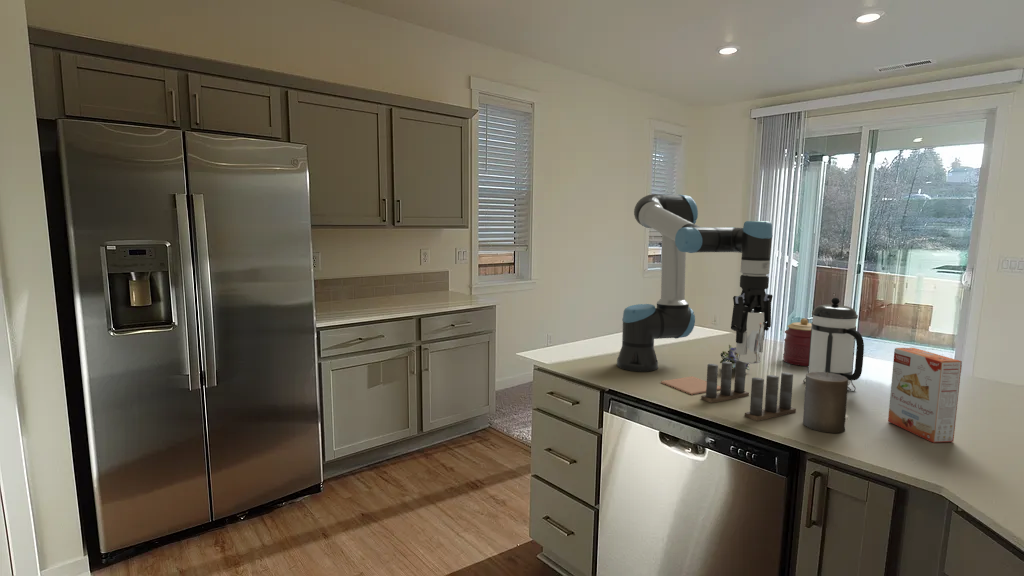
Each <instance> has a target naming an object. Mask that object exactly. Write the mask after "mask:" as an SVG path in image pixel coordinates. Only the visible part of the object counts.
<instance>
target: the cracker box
mask: <svg viewBox="0 0 1024 576" xmlns="http://www.w3.org/2000/svg"><path fill="white" fill-rule="evenodd" d="M962 365H963V361H962V360H958V359H955V358H952V357H947V356H945V355H941V354H937V353H934V352H930V351H926V350H923V349H919V348H916V347H897V348H896V347H894V353H893V362H892V374H891V384H890V394H889V395H890V396H889V408H888V418H887V420H888V421H887V422H888V423H891V424H893V425H895V426H897V427H899V428H901V429H902V430H903V429H904V430H905V431H908V432H910V433H912V434H913V435H916V436H918V437H920V438H922V439H925V440H926V441H929V442H931V443H951V442H952V443H954V439H955V431H956V421H957V412H958V404H959V403H958V401H959V392H960V383H961V376H962V375H961V373H962Z"/></svg>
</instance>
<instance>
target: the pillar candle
mask: <svg viewBox="0 0 1024 576" xmlns="http://www.w3.org/2000/svg"><path fill="white" fill-rule="evenodd" d="M805 378H806V379H805V383H804V384H805V385H804V387H805V388H804V399H803V415H802V418H803V419H802V423H803V425H804V427H806V426H807V427H806V428H808V427H809V428H808V429H811V430H813V429H814V431H817V432H818V431H819V432H823V433H831V434H839V433H840V432H841V433H843V432H845V431H846V416H847V415H846V414H847V401H848V390H849V389H848V387H849V385H848V378H846V377H844V376H842V375H838V374H833V373H828V372H827V373H826V372H810V373H808V372H806V373H805ZM841 433H840V434H841Z"/></svg>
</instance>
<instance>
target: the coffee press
mask: <svg viewBox="0 0 1024 576" xmlns="http://www.w3.org/2000/svg"><path fill="white" fill-rule="evenodd" d="M830 301H831V303H832V304H819V305H817V306H816V307H815V308H814V309H813V310H812V311H811V315H812V322H811V324H812V325H811V338H810V352H809V365H808V366H807V367H808V368H807V373H810V372H826V373H827V372H828V373H833V374H838V375H842V376H844V377H846V378H848V389H847V390H849V391H850V390H852V388H851V387H850V386H849V385H852V387H853V388H854V389H853V390H854V391H853V392H855V391H856V386H855V385H854V383H853V381H857V380H858V379H859V378H860V377H861V376H862V372H863V365H864V355H865V354H864V353H865V352H864V351H865V343H864V338H863V335H862V334H861V333H860V332H859V331H857V320H858V317H859V315H858V314H857V311H856V310H855V309H854V308H852V307H850V306H846V305H841V304H839V303H840V302H841V301H840V298H838V297H833V298H831V300H830ZM855 347H856V349H855ZM855 350H856V353H855ZM854 359H855V360H854ZM854 361H855V363H854ZM802 382H803V384H805V382H806V377H805V378H804V379H803V381H802Z"/></svg>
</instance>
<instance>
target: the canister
mask: <svg viewBox="0 0 1024 576" xmlns="http://www.w3.org/2000/svg"><path fill="white" fill-rule="evenodd" d="M811 325H812V322H811V323H810V322H809V320H808V318H801V319H800V321H799V322H798V321H797V322H796V321H795V322H791V323H790V324H788V325H787V329H785V330H784V333H785V338H783V339H784V346H783V354H782V355H783V356H782V359H783V361H784V362H785V363H787V364H790V365H794V366H799V365H800V366H803V367H808V365H809V352H810V338H811Z"/></svg>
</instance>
